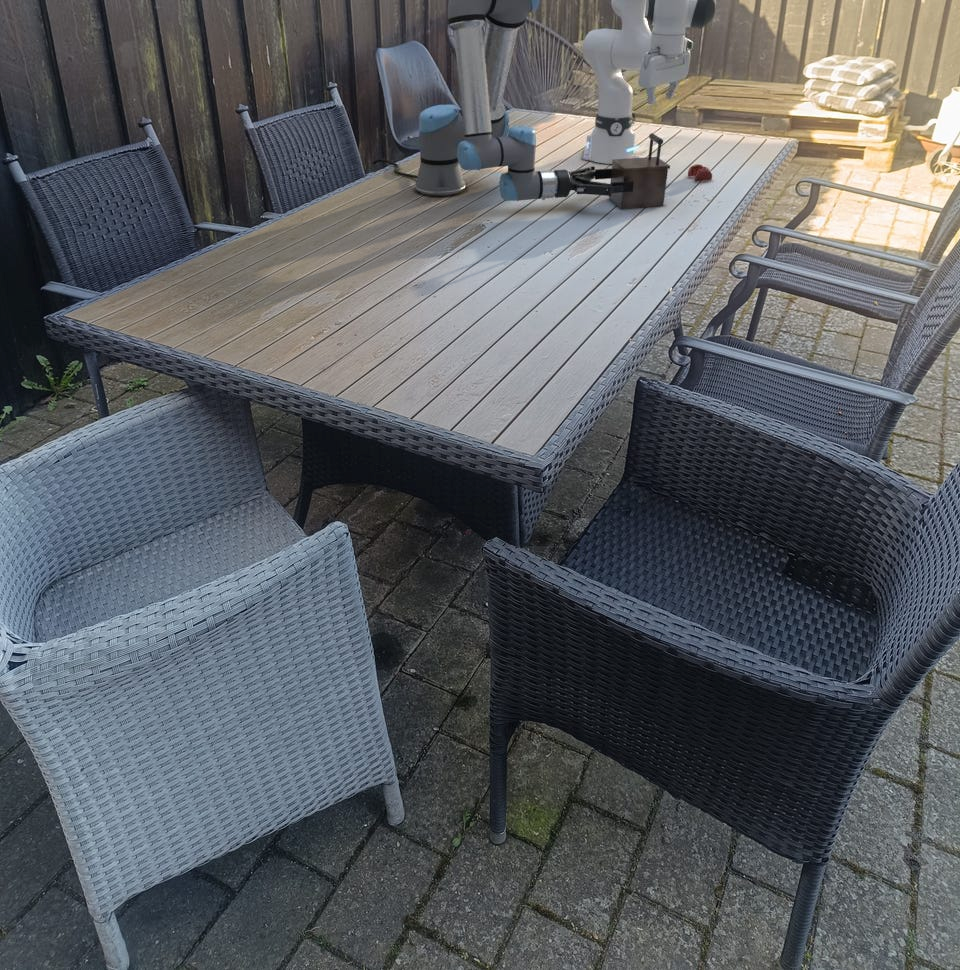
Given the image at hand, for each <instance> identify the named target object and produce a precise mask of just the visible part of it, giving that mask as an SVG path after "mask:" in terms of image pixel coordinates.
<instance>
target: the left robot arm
mask: <svg viewBox="0 0 960 970" xmlns="http://www.w3.org/2000/svg"><path fill="white" fill-rule="evenodd" d="M540 1H541V0H448V3H447V22H448V28H449V29H450V30H451V31H452V32H453V40H454V50H455V61H456V68H457V69H456V71H457V79H458V88H459V96H460V97H459V98H460V107H461V108H460V109H459V108H458V106H457V105H455V104H449V103H448V104H438V105H434V106H430V107H427V108H425V109H424V110H423V111H421V112H420V114H419V116H418V118H419V119H418V120H419V121H418V136H419V138H418V139H419V157H420V158H419V159H420V161H419V162H420V164H419V168H418V172H417V175H416V174H412V173H406V172H402V171H399V169H400V165H399V164H397V163H396V162H394V161H392V160H389V159H386V158H377V159H374V160H373V161H372V165H376V164H377V163H379V162H383V163H387V164H389V165H392V166H394V167H395V168H394V170H393V171H394V173H395V174H396V175H398V176H401V177H406V178H411V179H416V180H415V192H417V193H418V194H420V195H424V196H430V197H450V196H455V195H459V194H461V193H463V192H464V191H466V181H465V179H464V176H463V172H462V170H464V171H481V170H485V169H492V168H502V167H507V172H504V173H501V174H500V177H499V182H498V183H499V185H498V186H499V187H498V188H499V194H500V197H501V198H502V199H503V200H504V201H505V202H506V201H507V202H509V201H510V202H511V201H513V202H515V201H516V202H519V201H520V202H521V201H529V200H542V201H545V200H546V199H553V198H555V199H560V198H561V199H563V198H567V197H569V195H570V192H571V191H574V192H575V193H576V195H591V196H605V197H608V198H609V197H611V195H612V193H620V192H633V185H634V182H633V181H627V182H612V183H611V184H610V183H608V182H607V183H606V182H600V181H593V179H594V180H608V179H609V180H611V171H612V167H610V168H597V169H596V167H595V166H594V165H593V166H590V167H589V166H587V167H585V168H580V169H576V170H572V171H568V170H567V169H555V170H553V169H549V170H548V169H546V170H536V169H535V168H536V167H535V166H536V165H535V164H536V153H537V152H536V151H537V150H536V149H537V136H536V130H535V128H533V127H531V126H527V125H515V126H510V125H509V123H510V117H509V113H508V111H507V109H506V106H505V104H504V103H503V99H504V95H505V90H506V85H507V80H508V76H509V72H510V67H511V63H512V58H513V55H514V54H513V53H514V49H515V46H516V40H517V36H518V31H519V29H520V28H522V27H524V26H525V24H526V21H527V18H528V14H532V13H534V12H536V11H537V10H538V8H539V5H540V3H541V2H540ZM485 24H486V26H485ZM484 26H485V31H483V28H484Z"/></svg>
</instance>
